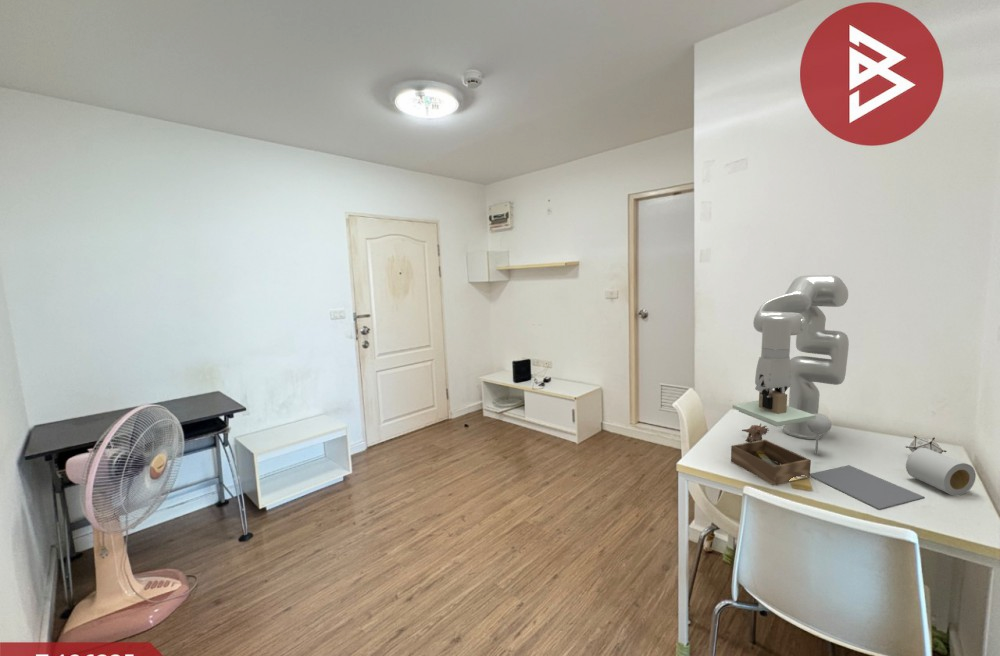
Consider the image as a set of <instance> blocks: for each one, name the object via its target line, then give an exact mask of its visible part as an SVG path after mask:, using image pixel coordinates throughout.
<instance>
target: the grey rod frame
mask: <svg viewBox="0 0 1000 656" xmlns="http://www.w3.org/2000/svg"><path fill="white" fill-rule="evenodd" d="M913 438H914V439H913V440H912V442H911V443H910V444H909V446H908V445H906V446H905V448H906V449H909V450H910V451H911V453H912V452H914V451H915V450H917V449H920V448H927V449H930V450H932V451H935V452H938V453H940V454H942V453H947V452H948V451H947V450H945V449H944V450H943V449H942V448H941V446H940V445H939V444H938V443H937V442H936V441H935V439H936V438H935V436H934V437H932V438H926V437H917V436H916V435H913Z"/></svg>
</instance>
